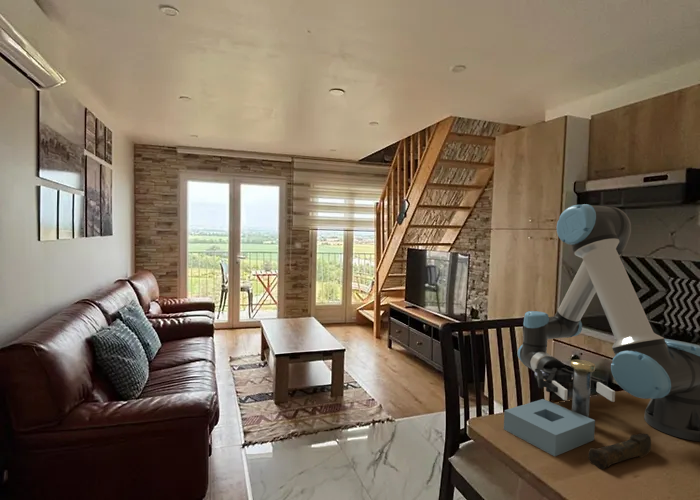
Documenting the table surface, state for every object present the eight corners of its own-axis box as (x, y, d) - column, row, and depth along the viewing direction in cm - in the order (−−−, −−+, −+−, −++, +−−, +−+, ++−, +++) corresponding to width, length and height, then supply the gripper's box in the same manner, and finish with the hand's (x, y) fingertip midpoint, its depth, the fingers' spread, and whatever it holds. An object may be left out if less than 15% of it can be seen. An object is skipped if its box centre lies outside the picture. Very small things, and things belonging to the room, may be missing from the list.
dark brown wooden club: (603, 473, 84) (605, 452, 84) (586, 462, 88) (588, 442, 87) (662, 458, 90) (664, 439, 90) (644, 449, 94) (645, 430, 94)
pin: (596, 425, 105) (599, 364, 104) (584, 429, 102) (587, 367, 102) (575, 416, 110) (578, 358, 109) (563, 420, 107) (566, 361, 107)
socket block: (594, 440, 97) (595, 420, 97) (554, 456, 89) (555, 435, 89) (542, 416, 109) (543, 398, 109) (503, 429, 101) (504, 410, 101)
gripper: (585, 380, 124) (635, 411, 102) (509, 378, 124) (542, 408, 102) (586, 357, 124) (636, 383, 102) (510, 354, 124) (544, 380, 102)
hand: (589, 395), depth 102 cm, fingers open, 12 cm apart
